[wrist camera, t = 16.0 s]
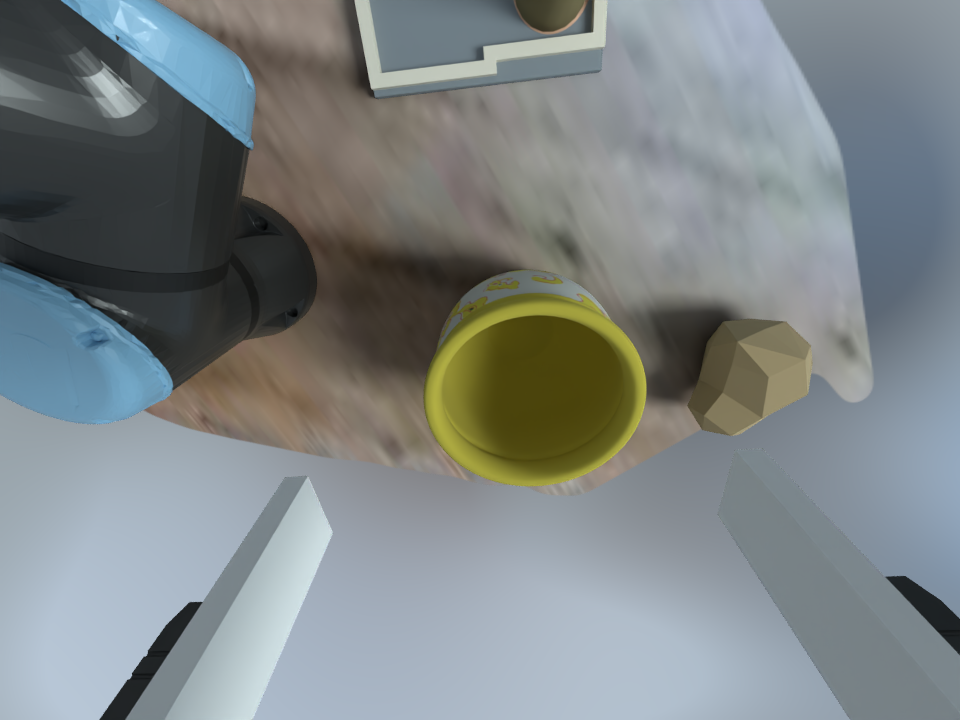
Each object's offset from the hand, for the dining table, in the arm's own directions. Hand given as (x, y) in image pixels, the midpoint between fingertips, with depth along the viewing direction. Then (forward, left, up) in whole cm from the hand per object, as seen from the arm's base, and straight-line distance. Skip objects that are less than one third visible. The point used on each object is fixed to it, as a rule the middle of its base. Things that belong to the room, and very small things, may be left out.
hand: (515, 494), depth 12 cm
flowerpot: (+2, -8, -33) cm, 34 cm away
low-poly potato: (+26, -14, -33) cm, 44 cm away
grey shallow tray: (0, +22, -33) cm, 39 cm away
